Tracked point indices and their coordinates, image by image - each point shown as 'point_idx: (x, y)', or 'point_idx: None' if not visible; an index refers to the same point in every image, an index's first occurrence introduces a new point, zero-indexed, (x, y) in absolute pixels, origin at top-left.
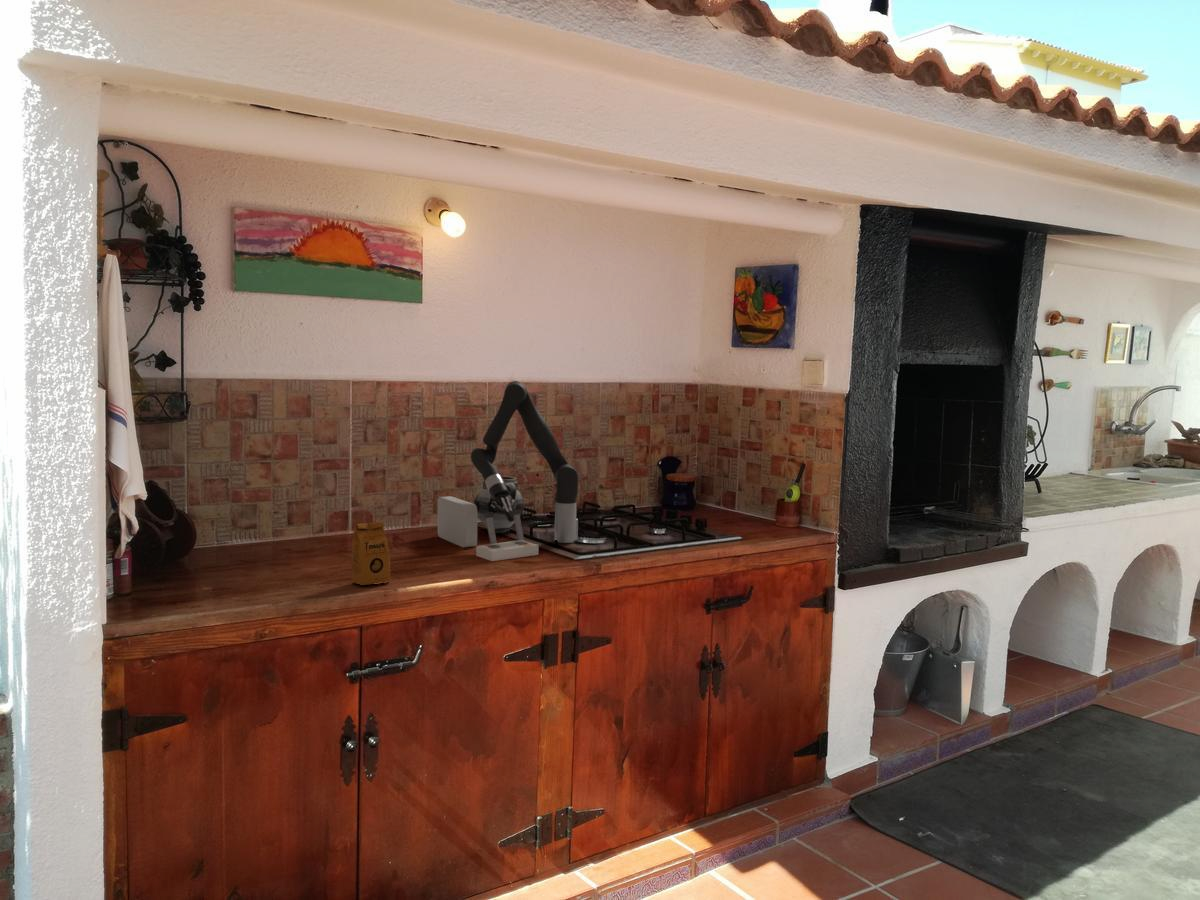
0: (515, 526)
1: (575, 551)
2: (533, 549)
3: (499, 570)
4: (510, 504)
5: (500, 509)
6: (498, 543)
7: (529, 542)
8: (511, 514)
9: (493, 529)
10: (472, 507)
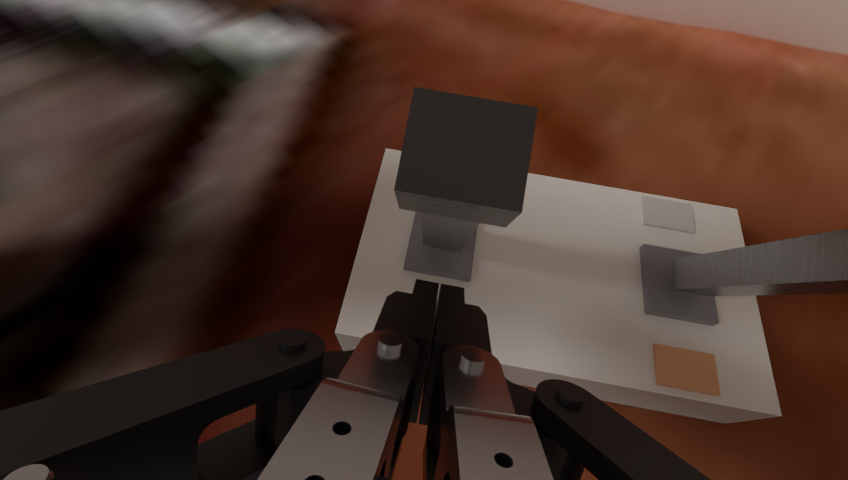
0: (472, 231)
1: (182, 116)
2: None
3: (739, 105)
4: (325, 399)
5: (635, 437)
6: (577, 360)
7: (368, 232)
8: (509, 223)
9: (765, 247)
10: None
